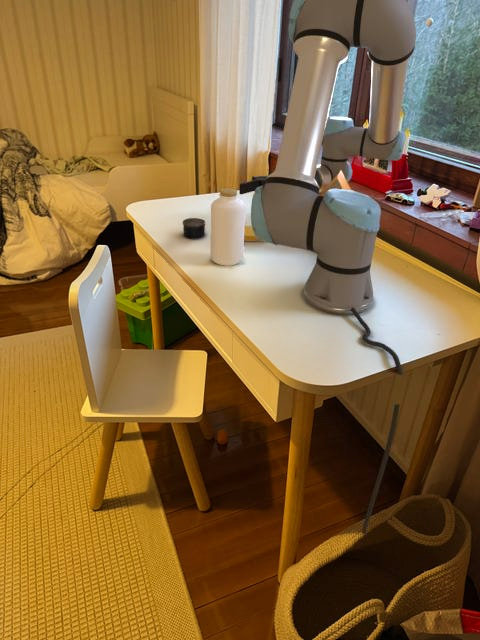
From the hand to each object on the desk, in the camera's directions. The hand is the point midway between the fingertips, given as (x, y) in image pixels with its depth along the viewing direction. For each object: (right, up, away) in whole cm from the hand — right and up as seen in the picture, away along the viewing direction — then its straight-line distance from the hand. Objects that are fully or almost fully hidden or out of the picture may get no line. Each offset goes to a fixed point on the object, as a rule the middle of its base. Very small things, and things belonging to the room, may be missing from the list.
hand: (259, 195), depth 121 cm
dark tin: (-18, -7, +15) cm, 25 cm away
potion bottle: (-8, -16, +1) cm, 18 cm away
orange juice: (+20, -5, +7) cm, 22 cm away
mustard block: (-1, -7, +16) cm, 18 cm away
